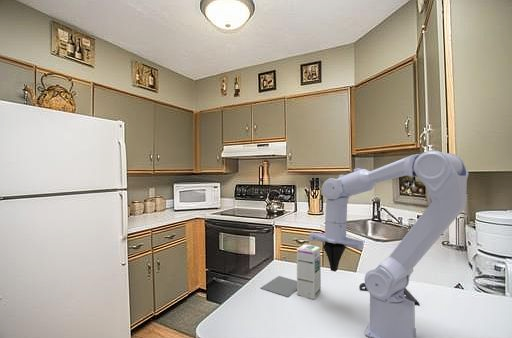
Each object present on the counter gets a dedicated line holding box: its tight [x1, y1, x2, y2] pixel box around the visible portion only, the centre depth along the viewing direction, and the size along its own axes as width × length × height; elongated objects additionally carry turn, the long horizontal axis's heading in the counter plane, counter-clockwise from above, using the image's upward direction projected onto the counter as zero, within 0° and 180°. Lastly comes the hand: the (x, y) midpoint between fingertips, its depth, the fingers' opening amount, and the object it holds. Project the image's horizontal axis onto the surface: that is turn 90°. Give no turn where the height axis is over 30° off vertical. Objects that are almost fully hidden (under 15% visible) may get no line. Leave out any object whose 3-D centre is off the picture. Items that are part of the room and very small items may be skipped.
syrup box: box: [296, 244, 322, 300], centre depth 81 cm, size 6×6×14 cm
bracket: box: [358, 282, 421, 307], centre depth 83 cm, size 14×15×3 cm
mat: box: [260, 275, 297, 298], centre depth 86 cm, size 10×12×1 cm
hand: (334, 270), depth 73 cm, fingers closed
